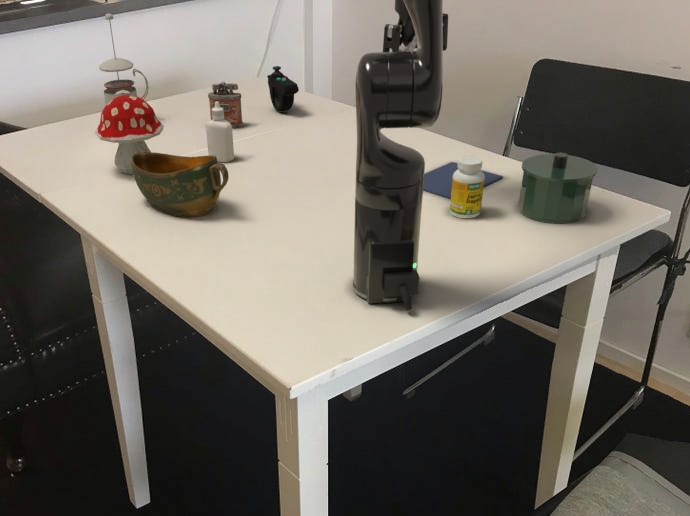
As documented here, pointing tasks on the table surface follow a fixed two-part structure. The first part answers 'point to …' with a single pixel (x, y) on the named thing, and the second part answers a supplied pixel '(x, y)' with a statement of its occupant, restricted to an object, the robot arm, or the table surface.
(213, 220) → the table surface
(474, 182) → the supplement bottle
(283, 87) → the controller
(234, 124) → the lighter
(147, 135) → the decorative mushroom
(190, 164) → the cup
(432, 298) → the table surface
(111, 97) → the french press
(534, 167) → the pot lid
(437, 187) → the flat panel
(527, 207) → the pot
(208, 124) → the eye dropper bottle
